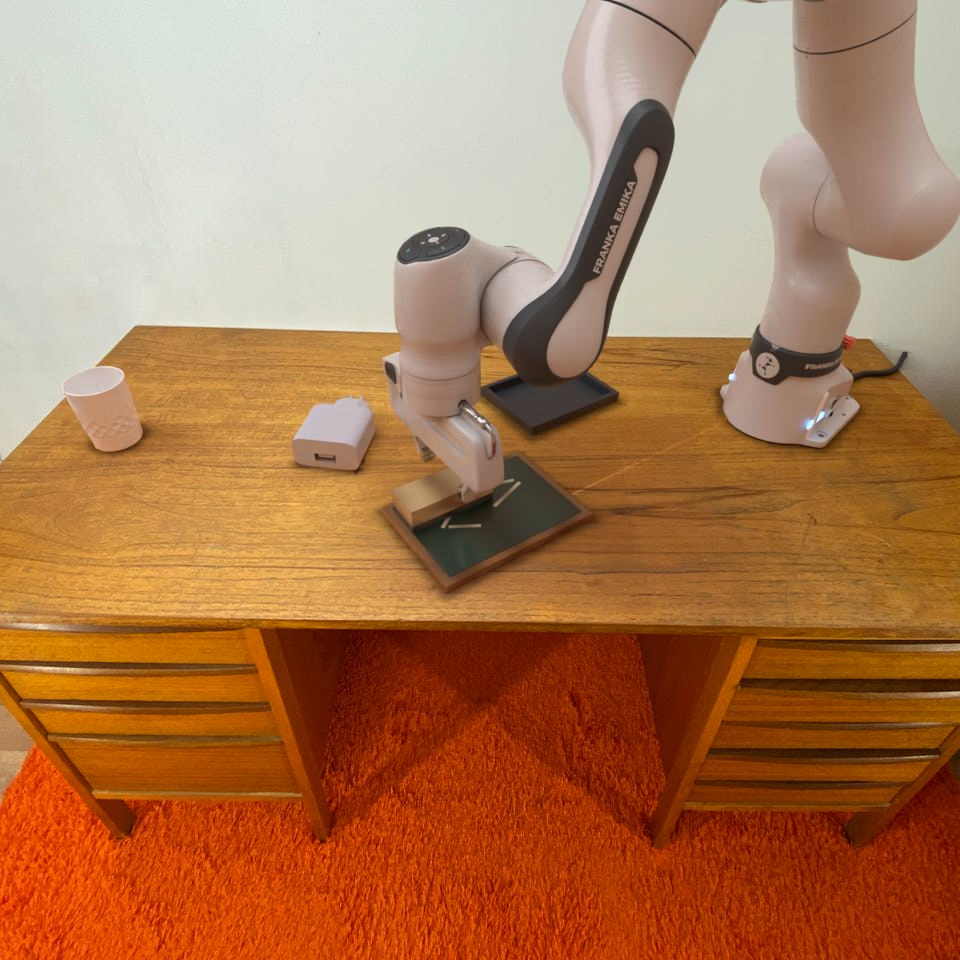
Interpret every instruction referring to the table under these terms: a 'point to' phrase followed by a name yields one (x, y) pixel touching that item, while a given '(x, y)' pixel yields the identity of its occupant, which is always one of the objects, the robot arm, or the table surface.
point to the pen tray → (547, 400)
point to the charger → (335, 435)
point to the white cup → (104, 407)
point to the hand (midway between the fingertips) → (446, 477)
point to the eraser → (432, 499)
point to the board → (495, 525)
